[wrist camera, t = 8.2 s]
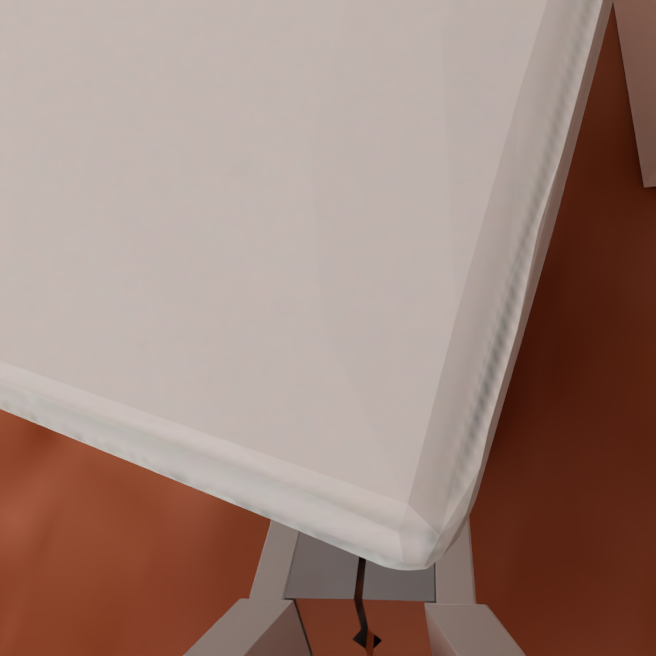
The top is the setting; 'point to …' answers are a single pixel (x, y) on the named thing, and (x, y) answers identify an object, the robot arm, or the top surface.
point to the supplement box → (285, 241)
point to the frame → (640, 76)
